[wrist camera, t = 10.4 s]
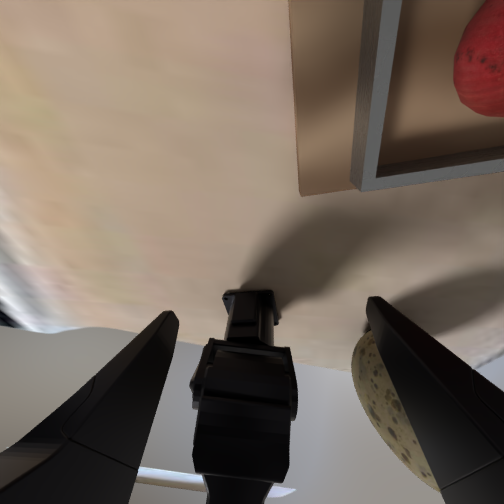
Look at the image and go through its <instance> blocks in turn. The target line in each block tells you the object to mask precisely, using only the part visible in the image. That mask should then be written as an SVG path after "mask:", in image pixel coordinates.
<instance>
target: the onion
mask: <svg viewBox="0 0 504 504" xmlns="http://www.w3.org/2000/svg"><path fill="white" fill-rule="evenodd" d="M453 82H454V86H455V88H456V91H457V94H458V96H459V99H460V101H461V103H462V104H464V105H465V106H467V107H468V108H470V109H471V110H473V111H474V112H476V113H478V114H481V115H484V116H488V117H504V0H486V1H485V2H484V3H483V5H482V6H481V7H480V9H479V10H478V11H477V13H476V14H475V15H474V16H473V18H472V19H471V20H470V22H469V23H468V24H467V26H466V27H465V30H464V32H463V35H462V37H461V40H460V42H459V45H458V48H457V50H456V53H455V55H454V69H453Z"/></svg>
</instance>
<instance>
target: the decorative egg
mask: <svg viewBox="0 0 504 504" xmlns="http://www.w3.org/2000/svg"><path fill="white" fill-rule="evenodd" d="M351 368H352V377H353V382H354V386H355V389H356V392H357V395H358V397H359V400H360V402H361V404H362V406H363V408H364V410H365V412H366V414H367V416H368V417H369V419H370V421H371V423H372V424H373V426H374V427H375V429H376V430H377V432H378V433H379V434H380V436H381V437H382V438H383V440H384V441H385V443H386V444H387V445H388V446H389V447H390V449H391V450H392V451H393V452H394V454H395V455H396V456H397V457H398V458H399V459H400V460H401V461H402V462H403V463H404V464H405V465H406V466H407V467H408V468H409V469H410V470H411V471H412V472H413V473H414V474H415V475H416V476H417V477H418V478H420V479H421V480H422V481H423V482H425V483H426V484H427V485H429V486H430V487H432V488H433V489H435V490H436V491H438V492H440V489H439V487H438V485H437V483H436V481H435V478H434V476H433V474H432V472H431V469H430V467H429V465H428V463H427V460H426V458H425V456H424V453H423V451H422V449H421V447H420V444H419V442H418V440H417V438H416V435H415V433H414V431H413V429H412V426H411V424H410V422H409V420H408V417H407V415H406V413H405V411H404V408H403V406H402V404H401V402H400V399H399V397H398V395H397V393H396V390H395V388H394V386H393V383H392V381H391V379H390V377H389V374H388V372H387V370H386V368H385V365H384V363H383V361H382V359H381V356H380V354H379V352H378V349H377V346H376V343H375V340H374V337H373V334H372V330H371V331H369V332H367V333H366V334H365V335H363V336H362V337H361V339H360V340H359V341H358V343H357V344H356V346H355V349H354V352H353V355H352V363H351ZM440 493H441V492H440Z"/></svg>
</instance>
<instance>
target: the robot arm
mask: <svg viewBox="0 0 504 504" xmlns="http://www.w3.org/2000/svg"><path fill="white" fill-rule="evenodd" d="M269 294H270V295H269ZM226 297H227V298H226ZM222 299H223V302H224V305H225V307H226V310H227V313H228V315H229V316H228V321H227V327H226V332H225V337H224V340H217V339H215V338H209V341H208V344H206V346H204V348H203V352H202V356H201V359H200V362H199V364H198V366H197V368H196V370H195V373H194V375H193V377H192V379H191V381H190V385H189V386H190V389H191V391H192V393H193V395H192V398H193V402H192V408H193V409H196V410H198V415H197V421H196V427H195V433H194V440H193V445H194V447H193V452H192V457H193V463H194V468H195V472H196V473H199V474H202V477H203V481H204V484H205V487H206V491H207V500H206V504H264V501H265V499H266V497H267V495H268V493H269V491H270V489H271V487H272V486H273V484H274V483H283V481H284V479H285V476H286V474H287V471H288V469H289V445H290V426H291V421H294V420H295V418H296V415H297V408H298V388H297V380H296V376H295V371H294V366H293V361H292V356H291V351H290V347H276V346H274V326H276V325H278V324H279V320H278V315H277V309H276V303H275V298H274V293H273V291H271V290H266V291H253V292H241V293H228V294H224V295H223V297H222ZM366 315H367V318H368V321H369V324H370V327H371V330H372V334H373V337H374V340H375V343H376V346H377V349H378V352H379V354H380V356H381V359H382V361H383V363H384V365H385V368H386V370H387V372H388V374H389V377H390V379H391V381H392V383H393V386H394V388H395V390H396V393H397V395H398V397H399V399H400V402H401V404H402V406H403V408H404V411H405V413H406V415H407V417H408V420H409V422H410V424H411V426H412V429H413V431H414V433H415V435H416V438H417V440H418V442H419V444H420V447H421V449H422V451H423V453H424V456H425V458H426V460H427V463H428V465H429V467H430V469H431V472H432V474H433V476H434V478H435V481H436V483H437V485H438V487H439V489H440V492H441V494H442V497H443V499H444V501H445V504H504V392H503V391H502V390H501V389H499V388H498V387H497V386H495V385H494V384H493V383H491V382H490V381H489V380H487V379H486V378H485V377H484V376H482V375H480V374H479V373H478V372H477V371H476V370H474V369H472V368H471V367H470V366H469V365H468V364H467V363H465V362H464V361H463V360H461V359H460V358H459V357H458V356H456V355H455V354H454V353H452V352H451V351H450V350H449V349H447V348H446V347H445V346H443V345H442V344H441V343H439V342H438V341H437V340H436V339H434V338H433V337H432V336H430V335H429V334H428V333H427V332H425V331H424V330H423V329H421V328H420V327H419V326H418V325H416V324H415V323H414V322H412V321H411V320H410V319H408V318H407V317H406V316H405V315H403V314H402V313H401V312H399V311H398V310H397V309H396V308H394V307H393V306H392V305H390V304H389V303H388V302H387V301H385V300H384V299H383V298H381V297H379V296H372V297H369V298H368V301H367V306H366ZM178 329H179V320H178V318H177V317H176V315H175V313H174V312H173V311H172V310H169V311H163V312H162V313H161V314H160V315H159V316H158V317H157V318H156V319H155V320H153V321H152V322H151V323H150V324H149V325H148V326H147V327H146V328H145V329H144V330H143V331H142V332H141V333H140V334H138V335H137V336H136V337H135V338H134V339H133V340H132V341H131V342H130V343H129V344H128V345H127V346H126V347H124V349H122V350H121V351H120V352H119V353H118V354H117V355H116V356H115V357H114V358H113V359H112V360H111V361H109V362H108V363H107V364H106V365H105V366H104V367H103V368H102V369H101V370H100V371H99V372H98V373H97V374H96V375H95V376H93V377H92V378H91V379H90V380H89V381H88V382H87V383H86V384H85V385H84V386H82V387H81V388H80V389H79V390H78V391H77V392H76V393H75V394H74V395H73V396H71V397H70V398H69V399H68V400H67V401H65V402H64V403H63V404H62V405H61V406H60V407H58V408H57V409H56V410H55V411H54V412H53V413H51V414H50V415H49V416H48V417H47V418H45V419H44V420H43V421H42V422H41V423H39V424H38V425H37V426H36V427H35V428H33V429H32V430H31V431H30V432H29V433H27V434H26V435H25V436H24V437H23V438H22V439H20V440H19V441H18V442H16V443H15V444H14V445H12V446H11V447H9V448H8V449H6V450H4V451H3V452H1V453H0V504H128V502H129V499H130V496H131V493H132V490H133V486H134V483H135V480H136V476H137V473H138V469H139V466H140V463H141V459H142V456H143V453H144V450H145V446H146V443H147V440H148V436H149V433H150V430H151V426H152V423H153V420H154V417H155V414H156V410H157V407H158V404H159V400H160V397H161V394H162V390H163V387H164V384H165V381H166V377H167V374H168V371H169V367H170V364H171V361H172V357H173V353H174V349H175V344H176V339H177V334H178Z"/></svg>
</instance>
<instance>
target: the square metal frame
mask: <svg viewBox="0 0 504 504" xmlns="http://www.w3.org/2000/svg"><path fill="white" fill-rule="evenodd" d="M401 4H402V0H364V7H363V20H362V32H361V44H360V57H359V69H358V81H357V94H356V106H355V118H354V131H353V143H352V155H351V168H350V180H349V181H350V182H351V183H352V184H353V185H354V186H355V187H356V188H357V189H358V190H359V191H360V192H365V191H372V190H379V189H386V188H393V187H400V186H407V185H414V184H420V183H427V182H434V181H441V180H448V179H455V178H462V177H469V176H476V175H482V174H489V173H496V172H503V171H504V145H503V146H497V147H491V148H485V149H479V150H472V151H466V152H460V153H454V154H448V155H442V156H435V157H429V158H423V159H417V160H411V161H405V162H398V163H392V164H386V165H380V166H377V164H378V158H379V151H380V144H381V138H382V131H383V124H384V118H385V111H386V104H387V98H388V91H389V84H390V78H391V71H392V64H393V58H394V51H395V44H396V38H397V31H398V24H399V18H400V11H401Z"/></svg>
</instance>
